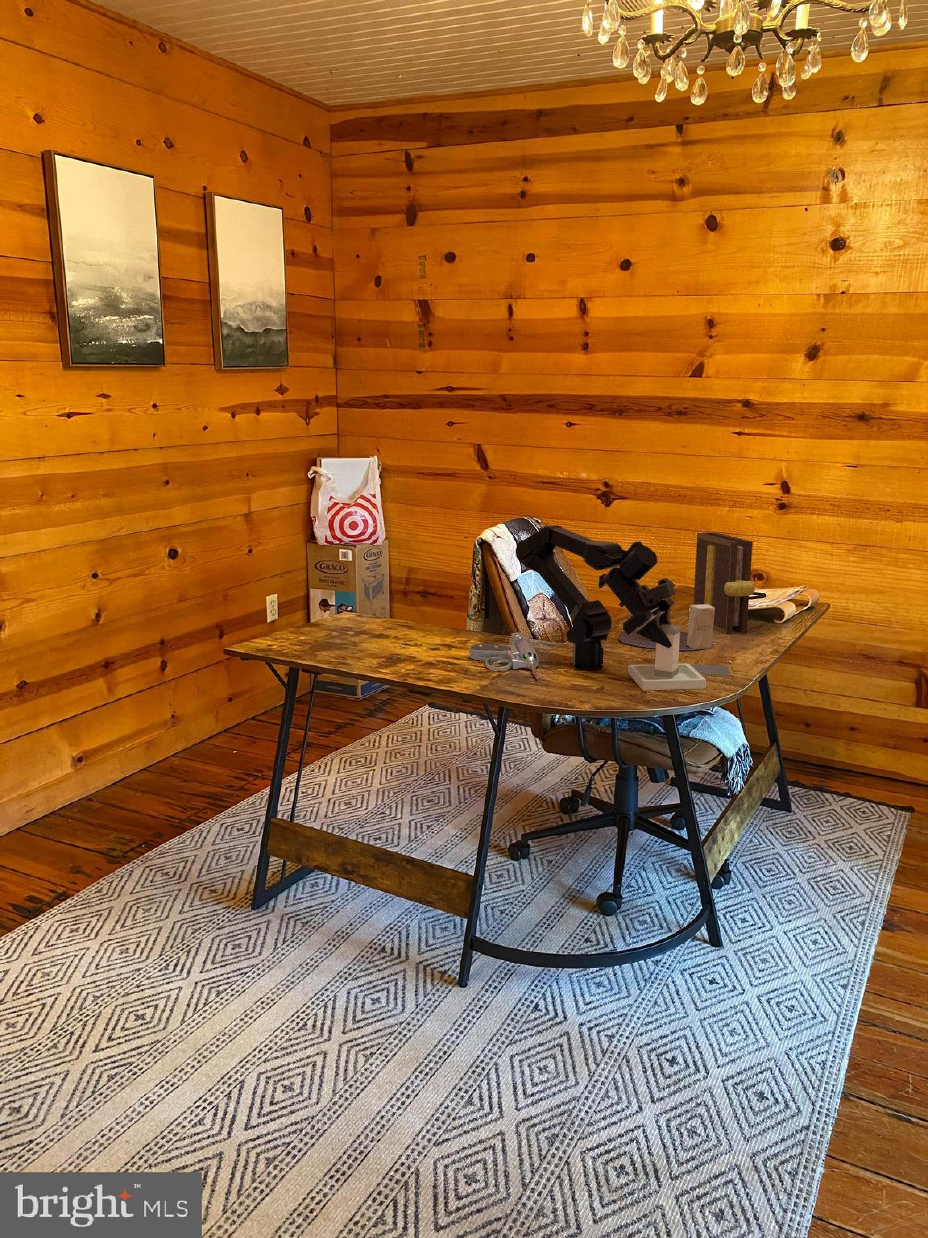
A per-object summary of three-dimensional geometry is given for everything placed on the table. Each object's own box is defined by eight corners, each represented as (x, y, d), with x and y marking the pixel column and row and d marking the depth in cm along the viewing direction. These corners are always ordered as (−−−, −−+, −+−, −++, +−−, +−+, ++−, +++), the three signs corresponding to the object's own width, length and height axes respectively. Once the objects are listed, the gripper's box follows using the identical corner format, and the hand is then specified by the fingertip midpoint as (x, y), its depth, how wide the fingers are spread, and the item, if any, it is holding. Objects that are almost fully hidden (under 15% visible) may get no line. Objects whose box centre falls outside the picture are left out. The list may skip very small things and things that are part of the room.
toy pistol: (468, 655, 244) (530, 647, 245) (480, 697, 217) (550, 688, 218) (465, 633, 242) (528, 625, 243) (478, 673, 215) (548, 664, 216)
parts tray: (642, 692, 209) (643, 681, 208) (628, 675, 222) (628, 664, 221) (705, 690, 210) (706, 679, 209) (687, 673, 223) (688, 663, 222)
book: (686, 619, 277) (691, 533, 271) (712, 617, 279) (717, 531, 273) (729, 637, 256) (734, 544, 250) (756, 635, 259) (763, 542, 253)
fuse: (653, 675, 215) (656, 627, 212) (660, 670, 218) (662, 623, 216) (672, 678, 213) (674, 630, 210) (678, 673, 216) (680, 626, 214)
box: (693, 651, 243) (695, 608, 240) (686, 646, 247) (688, 604, 244) (712, 649, 244) (715, 607, 241) (705, 645, 248) (707, 603, 245)
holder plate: (685, 675, 222) (685, 673, 221) (684, 666, 229) (684, 663, 229) (730, 677, 220) (730, 675, 220) (727, 668, 227) (727, 666, 227)
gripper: (638, 574, 204) (686, 631, 201) (668, 561, 220) (713, 614, 217) (603, 607, 210) (649, 662, 207) (634, 592, 225) (677, 643, 223)
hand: (673, 644), depth 213 cm, fingers closed on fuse, 4 cm apart
